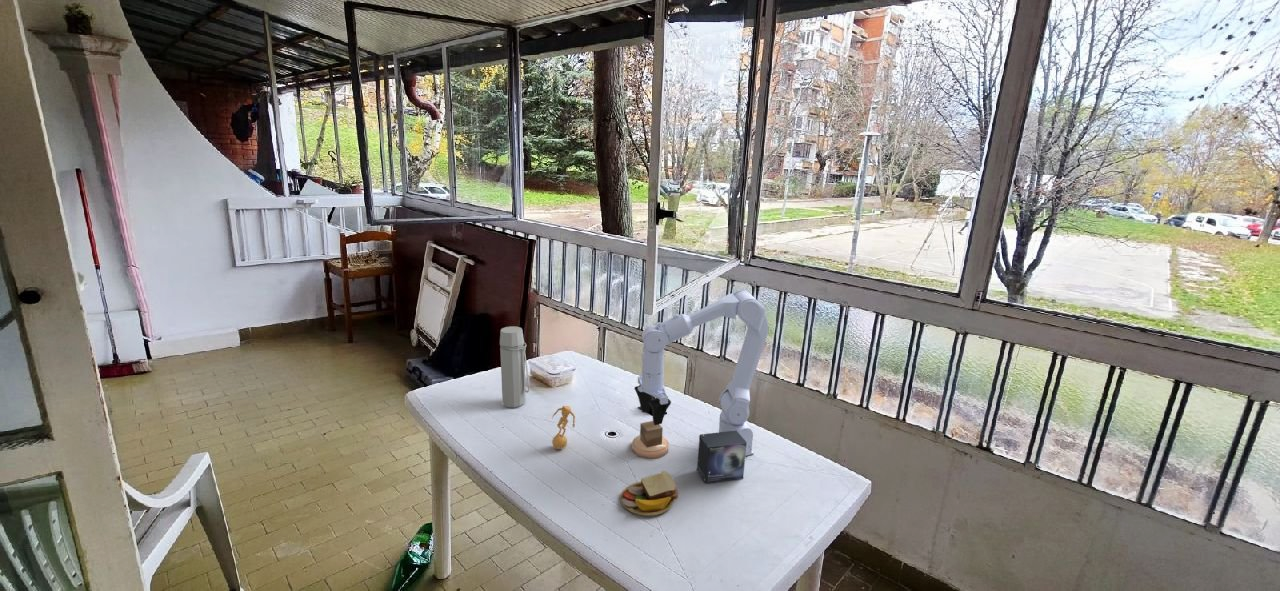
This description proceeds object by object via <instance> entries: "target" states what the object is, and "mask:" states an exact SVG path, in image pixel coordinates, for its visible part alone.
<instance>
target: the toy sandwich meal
mask: <svg viewBox="0 0 1280 591" xmlns="http://www.w3.org/2000/svg"><path fill="white" fill-rule="evenodd" d="M678 497H679V494H678V488H677V484H676V482H675V479H674V478H673V477H672V476H671V475H670V473H668V472H667V471H660V472H659V473H656V474H652V475H649V476H646V477H643V478H641V479H640V481H637V482H634V483H631V484H629V485H627V486H626V487H625V488H624V489H622V492H621V494H620V497H619V498H620V502H621V504H622V505H623V507H624V508H625V509H626V510H628V511H629V512H631V513H633V514H634V515H637V516H642V517H654V516H659V515H662V514H664V513H665V512H667V511H668V510H670V508H672V506H673V504H674V502H675V500H677V499H678Z"/></svg>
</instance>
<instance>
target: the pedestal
mask: <svg viewBox="0 0 1280 591" xmlns="http://www.w3.org/2000/svg"><path fill="white" fill-rule="evenodd" d="M631 448H632V449H631V450H632V452H633V453H634V454H635V455H636V456H638V457H640V458H644V459H659V458H662V457H664V456H665V455H667V454H668V452H669V450H670V449H669V448H670V443H669V441H668V439H667V438H666V437H664V436H663V435H662V444H661V445H657V446H652V447H648V448H647V447H646V446H645V445H644V444H643V442H642V441H641V440H640V434H639V435H638V436H636V437H634V438H633V439H632V443H631Z"/></svg>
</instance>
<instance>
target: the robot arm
mask: <svg viewBox="0 0 1280 591" xmlns="http://www.w3.org/2000/svg"><path fill="white" fill-rule="evenodd" d="M737 316H738V318H739V319H740V320H741V321H742V322H743V323H744V324H745V326H746V328H747V331H746V335H745V337H744V339H743V343H742V346H741V349H740V353H739V356H738V359H737V363H736V365H735V368H734V371H733V375H732V379H731V381H730V382H728V383H727V384H726V388H725V389H724V390H723V391H722V392H721V394H720V395H719V399H718V400H719V401H718V402H719V405H720V407H721V408H722V409H721V412H720V414H719V420H718V421H719V423H718V424H719V425H718V426H719V427H718V432H727V431H736V430H737V432H738V433H739V434H740V435H741V436H742V437H743V439H744V440H745V441H746V442H747V445H746V454H745V457H746V456H750V455H754V454H755V452H754V451H753V449H752V448H753V440H754V433H753V430H752V429H751V428H750V426H749V425H748V422H747V420H748V419H749V417H750V409H749V408H750V407H749V406H750V402H751V396H750V389H751V386H752V383H753V379H754V378H755V374H756V371H757V368H758V366H759V362H760V359H761V356H762V353H763V349H764V347H765V343H766V340H767V339H768V338H767V337H768V333H769V330H770V327H769V323H768V322H769V321H768V319H767V316H766V308H764V306H763V305H762V304H761V303H760V301H758V300H757V299H756V298H755V297H754V295H752V294H751V293H750V292H749V291H748V290H745V289H739V290H736V291H735V292H733V293H728V294H726V295H725V296H723V297H722V298H720V299H718V300H716V301H714V302H712V303H710V304H709V305H706V306H704V307H703V308H701V309H699V310H697V311H695V312H692V313H691V314H689V315H688V314H684V313H680V314H678V313H675V314H673V315H672V318H669V319H667V320H665V321H663V322H660V321H659V322H657V323H655V324H656V325H654V324H651V325H647V326H646V327H645V328H644V329H643V331H642V334H641V339H642V342H643V348H642V358H641V359H642V360H641V364H642V365H641V366H642V367H641V376H640V375H639V376H637V383H638V385H637V386H634V390H635V391H634V392H636V394H637V397H638V402H639V404H640V406H641V410H640V411H641V413H645V412H648V411H650V406H651V409H652V414H653V416H652V421H653V423H654V425H658V424H659V425H661V424H663V421H664V418H665V412H667V410H668V408H669V407H670V406H671V404H672V400H670V398H669V396H668V395H667V392H666V389H665V386H664V370H665V354H664V353H665V352H664V350H665V349H666V347H667V345H669V344H671V343H673V342H675V341H678V340H680V339H683V338H684V337H686V336H689V335H691V334H692V333H693V330H694V328H695V327H699V326H701V325H704V324H706V323H708V322H712V321H714V320H716V319H719V318H721V317H725V318H728V319H733V320H736V319H737ZM652 396H654V397H656V400H651V399H652ZM640 406H639V407H640Z"/></svg>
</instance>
